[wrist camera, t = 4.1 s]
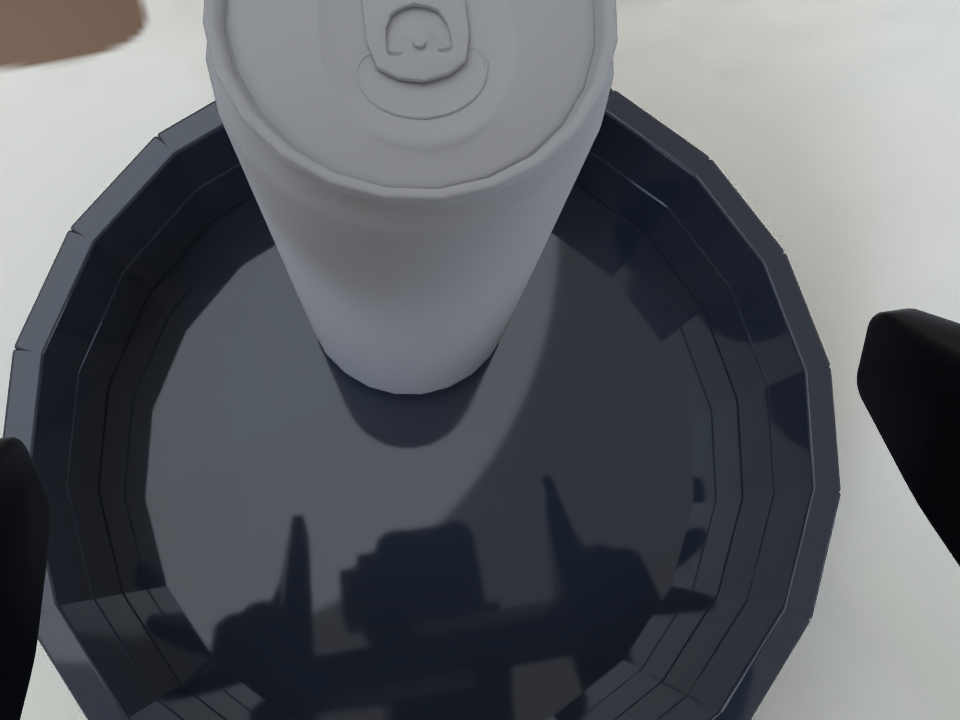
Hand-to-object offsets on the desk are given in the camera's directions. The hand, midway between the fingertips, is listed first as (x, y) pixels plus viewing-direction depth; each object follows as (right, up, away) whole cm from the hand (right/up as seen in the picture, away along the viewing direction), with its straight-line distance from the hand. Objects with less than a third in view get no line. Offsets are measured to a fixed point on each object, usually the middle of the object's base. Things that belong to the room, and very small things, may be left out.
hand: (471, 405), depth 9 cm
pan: (-1, -2, +12) cm, 12 cm away
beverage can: (-2, +2, +12) cm, 12 cm away
